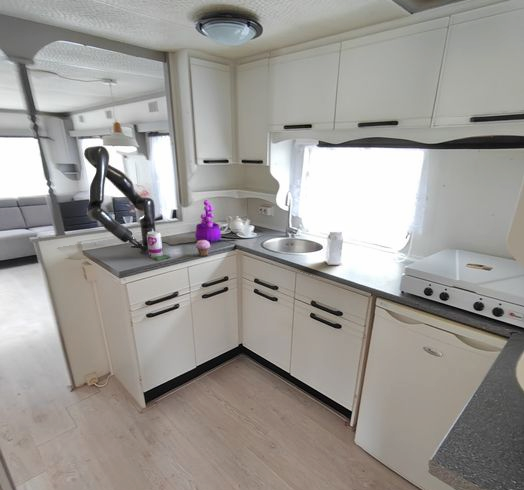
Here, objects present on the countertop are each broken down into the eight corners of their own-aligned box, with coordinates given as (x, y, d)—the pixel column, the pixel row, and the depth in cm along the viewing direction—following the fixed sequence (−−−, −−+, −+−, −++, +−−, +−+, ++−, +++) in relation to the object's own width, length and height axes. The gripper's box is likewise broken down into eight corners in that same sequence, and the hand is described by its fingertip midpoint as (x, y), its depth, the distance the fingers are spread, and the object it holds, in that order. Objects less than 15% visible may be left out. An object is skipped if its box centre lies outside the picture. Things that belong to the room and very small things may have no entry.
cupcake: (200, 258, 201) (199, 242, 197) (194, 254, 207) (193, 239, 204) (212, 255, 206) (212, 240, 202) (206, 252, 212) (205, 237, 208)
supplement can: (158, 258, 199) (156, 234, 193) (146, 257, 201) (143, 233, 195) (165, 254, 206) (163, 231, 200) (153, 253, 208) (151, 230, 202)
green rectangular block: (166, 256, 203) (165, 254, 202) (169, 257, 201) (168, 255, 200) (154, 259, 198) (154, 257, 197) (157, 260, 195) (157, 258, 195)
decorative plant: (202, 237, 249) (200, 197, 237) (225, 239, 244) (223, 198, 233) (191, 243, 232) (187, 201, 220) (215, 246, 227) (213, 202, 216)
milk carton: (325, 261, 199) (328, 230, 192) (336, 261, 199) (339, 230, 192) (328, 265, 192) (331, 233, 185) (340, 264, 193) (343, 233, 186)
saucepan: (162, 250, 216) (161, 244, 214) (153, 254, 206) (152, 249, 204) (136, 248, 220) (135, 242, 219) (126, 252, 210) (125, 246, 209)
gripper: (129, 229, 183) (153, 247, 194) (122, 225, 192) (145, 242, 204) (120, 240, 182) (145, 257, 193) (114, 235, 192) (138, 252, 203)
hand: (145, 250), depth 198 cm, fingers closed
